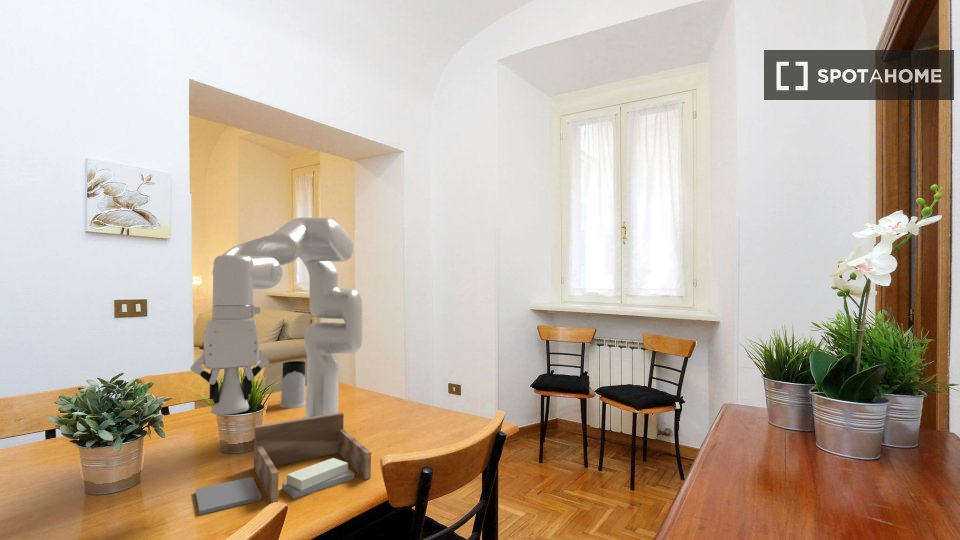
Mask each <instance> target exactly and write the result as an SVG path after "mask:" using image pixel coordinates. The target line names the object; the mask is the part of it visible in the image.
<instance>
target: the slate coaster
mask: <svg viewBox="0 0 960 540" xmlns="http://www.w3.org/2000/svg"><path fill="white" fill-rule="evenodd" d="M194 494H195V499H196V503H197V504H196V505H197V508H198V509H197V511H198V515H199V516H201V515H205V514H210V513H213V512H217V511H222V510H226V509H230V508H234V507H238V506H243V505H246V504H250V503H251V504H252V503H254V502H258V501H259V502H260V501H263V499H262V498H263V496H262V493H261V492H260V489H259V487H258V485H257V483H256V481H255V479H254V477H253V476H250V477H244V478H240V479H235V480H232V481H227V482H222V483H218V484H212V485H208V486H204V487H198V488H195V492H194Z"/></svg>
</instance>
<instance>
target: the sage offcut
mask: <svg viewBox="0 0 960 540" xmlns="http://www.w3.org/2000/svg"><path fill="white" fill-rule="evenodd" d="M348 470H349V463H348V462H347V461H343V460H340V459H338V458H335V457H332V458H328V459H326V460H323V461H320V462H318V463H315V464H313V465H310V466H306V467H303V468H301V469H299V470H296V471H293V472H290V473H287V474H286V482H287V484H288V485H290V486H293V487H295V488H297V489H299V490H304V489H306V488H309V487H311V486H314V485H316V484H319V483H321V482H324V481H326V480H329V479H331V478H334V477H336V476H339V475H341V474H344V473H346V472H348Z"/></svg>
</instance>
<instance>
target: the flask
mask: <svg viewBox="0 0 960 540" xmlns="http://www.w3.org/2000/svg"><path fill="white" fill-rule="evenodd" d="M223 370H224V373H223V378H222V382H221V386H220V387H219V397H218V403H217V404H214V403H213V406H212V409H211V411H210V413H211V414H214V415H216V416H224V415H235V414H238V413H243V412H247V411H248V410H249V409H250V405H249V402H248V400H245V398H244V392H243V385H242V384H241V380H240V375H239V368H229V369H223Z"/></svg>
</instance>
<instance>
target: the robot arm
mask: <svg viewBox="0 0 960 540" xmlns="http://www.w3.org/2000/svg"><path fill="white" fill-rule="evenodd" d="M353 253H354V244H353V241H352V238H351V237H350V235H349V234H348V232H347V231H346V230H344V228H343V227H342V226H341V225H340V224H338V222H336V221H335V220H333V219H331V218H329V217H304V216H302V217H296V218H293V219H291V220H289V221H288V222H287V223H285V224H283V226H281V227H279V229H276V231H275V232H273V233H271V234H269V235H266V236H265V235H264V236H262V237H259V238H255V239H252V240H249V241H246V242H243V243H239V244H237V245H234V246H233V247H231V248H230V249H228V250H227V251H225V252H224V253H222V254H220V255H218V256H215V258H214V261H213V267H212V277H213V278H212V310H211V319H210V320H207V323H206V327H205V330H204V338H203V339H204V341H203V352H202V354H200V356H199V357H198V358H196V360H195V362H193V364H191V366H190V371H191V372H193V373H195V374H196V375H199V376H200V377H202V379H203V380H205V381H206V382H207V383H209V400H212V401H213V405H214V404H217V403H218V397H219V391H220V385H219V382H218V377H219V374H220V371H221V370H224V369H229V368H238V369H240V368H242V369H243V372H244V374H245V375H244V376H243V377H244V378H243V379H242V389H243V392H244V398H245V400H247V401H248V400H249V395H252V385H253V380H254V378H255V377H256V376H257V375H258V374H259V373H260V372H262V371H261V370H263V369H264V368H266V367H267V366H268V365H270V362H271V361H270V360H269V359H268V358H267V357H266V355H265V354H264V353H262V351H261V350H260V344H259V341H260V340H259V333H258V326H257V325H258V324H257V319H255V318H254V316H255V315H257V314H258V315H259V314H260V313H261V308H260V307H257V306H254V305H253V304H254V290H255V289H256V290H267V289H268V290H269V289H272V288H274V287H276V286H277V285H278V284H279V283H280V281H282V278H283V268H282V266H285V265H288V264H290V263H293V262H295V261H296V260H297V259H298V258H300V261H302V263H303V264H304V266H305V267H306V269H307V271H308V278H309V280H308V281H309V312H310V314H311V315H312V316H313V317H314V318H317V319H329V320H331V319H333V320H335V319H336V320H344V322H328V321H327V322H315V323H312V324H310V325H308V327H307V328H306V330H305V331H304V335H303V336H304V345H305V352H306V361H307V362H306V396H305V402H306V405H305V415H306V416H305V417H304V418H309V417H315V416H322V415H328V414H335V413H339V374H340V372H339V371H340V367H339V363H338V360H337V359H336V357H335V356H334V355H333V354H348V355H349V354H355V353H357V352H358V351H360V350H361V347H362V342H363V300H362V297H361V294H360V292H358V291H357V290H356V289H354V288H353V289H352V288H340V287H339V273H338V270H337V268H336V266H335V265H334V264H333V262H338V263H340V262H341V263H342V262H347V261H349V260H350V258H351V257H352V255H353ZM203 365H204V367H205V368H206V369H208V370H210V372H208V371H207V370H205V369H203V368H202V366H203Z"/></svg>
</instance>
